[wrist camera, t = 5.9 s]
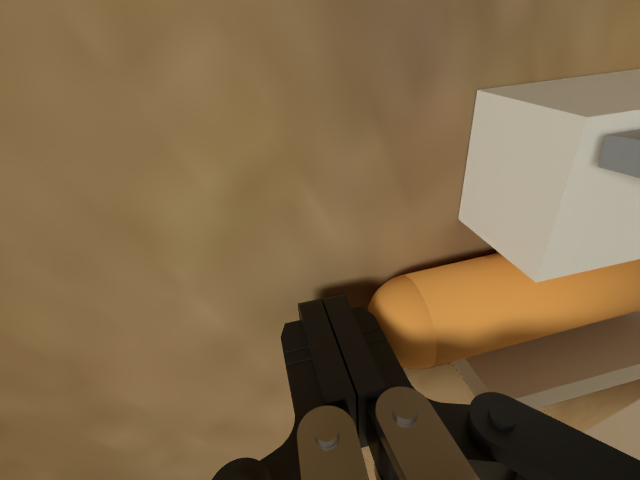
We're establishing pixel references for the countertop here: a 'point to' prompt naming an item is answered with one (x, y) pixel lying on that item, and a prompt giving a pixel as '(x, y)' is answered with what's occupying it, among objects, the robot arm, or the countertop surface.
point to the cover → (622, 153)
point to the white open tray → (555, 224)
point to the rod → (493, 307)
